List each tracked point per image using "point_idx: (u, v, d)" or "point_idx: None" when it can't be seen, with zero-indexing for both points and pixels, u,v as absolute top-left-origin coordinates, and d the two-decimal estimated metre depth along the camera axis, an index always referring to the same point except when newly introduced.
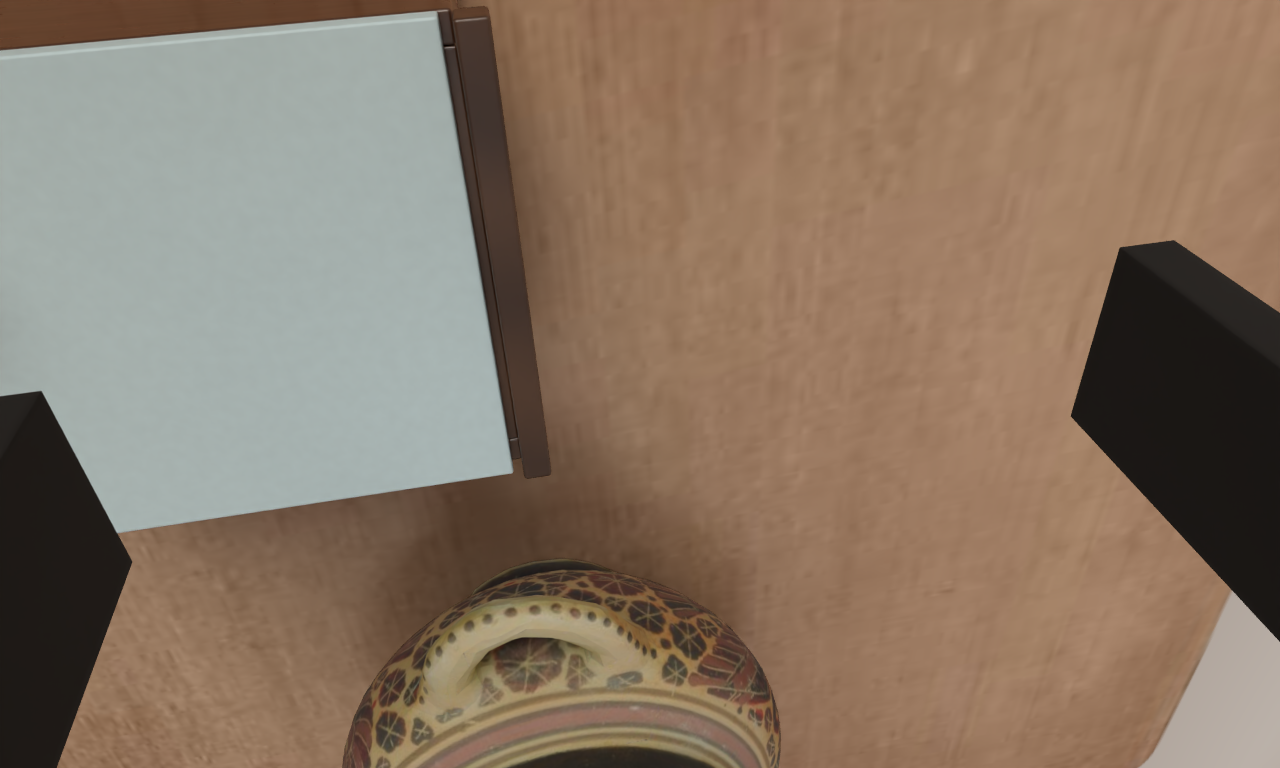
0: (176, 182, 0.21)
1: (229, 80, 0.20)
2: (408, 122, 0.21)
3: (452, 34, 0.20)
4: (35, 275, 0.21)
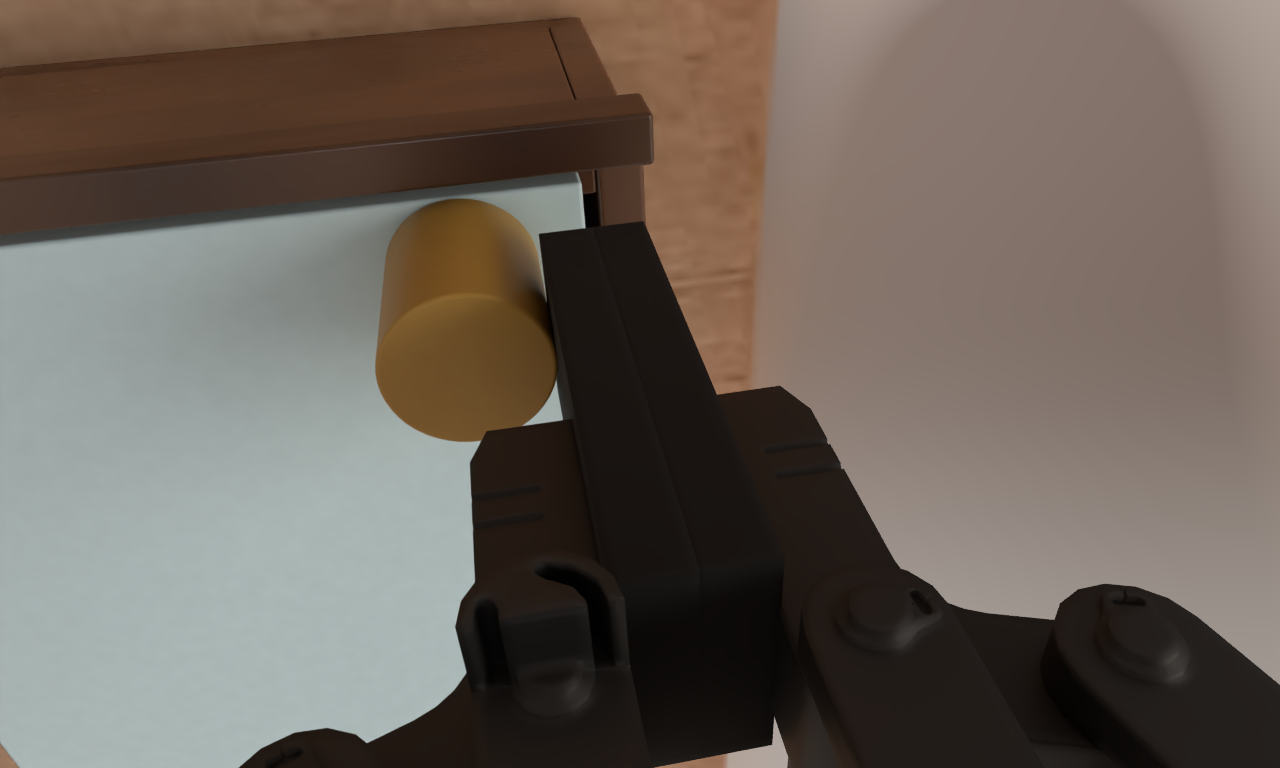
0: (465, 574, 0.18)
1: None
2: None
3: None
4: (328, 444, 0.16)
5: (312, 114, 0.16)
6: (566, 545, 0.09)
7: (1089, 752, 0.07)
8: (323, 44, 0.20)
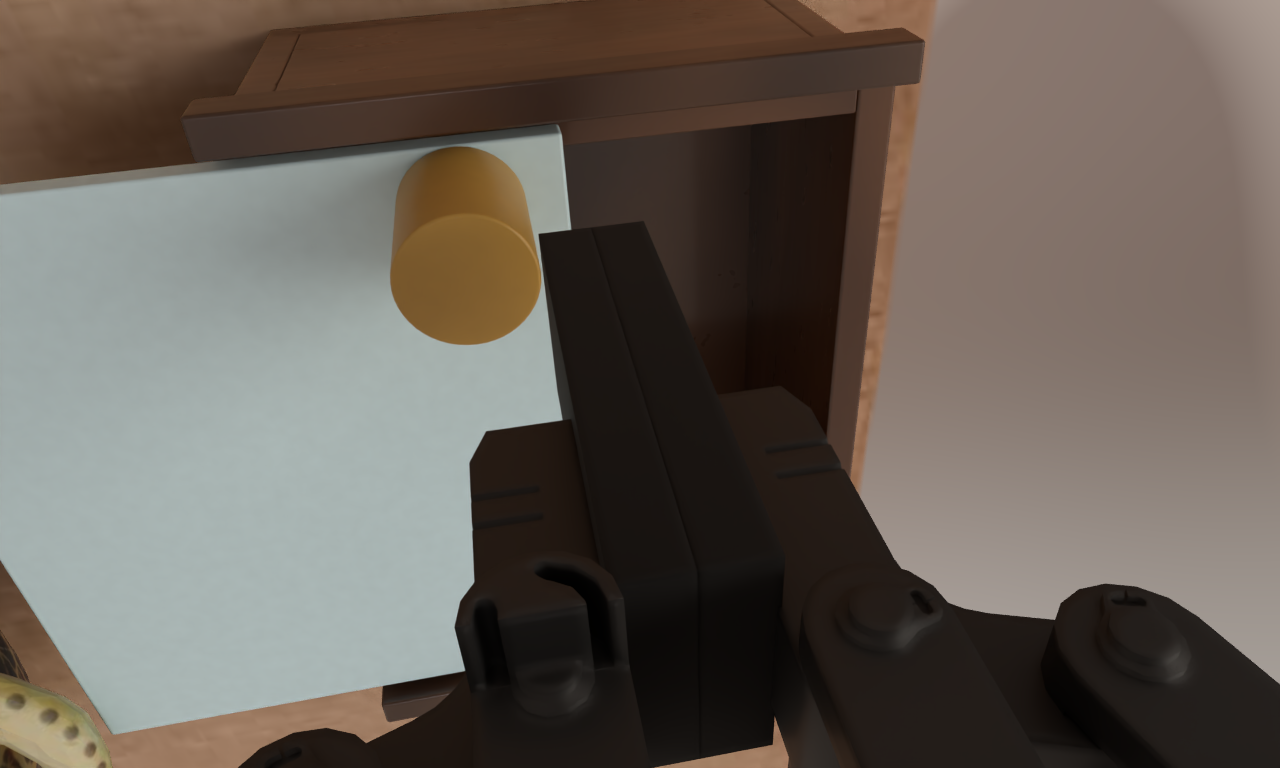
0: (465, 489, 0.21)
1: None
2: None
3: None
4: (345, 366, 0.19)
5: (601, 55, 0.20)
6: (566, 545, 0.09)
7: (1088, 751, 0.07)
8: (563, 6, 0.23)
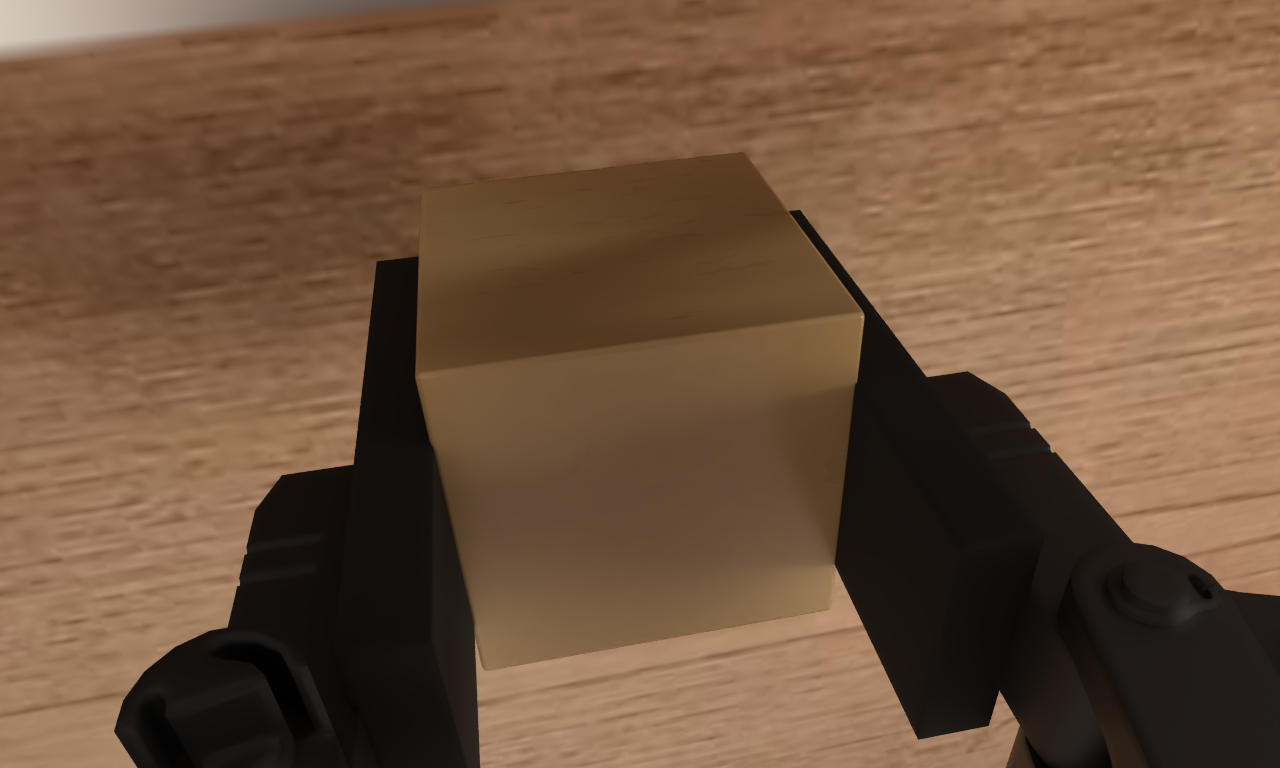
0: None
1: None
2: None
3: None
4: None
5: None
6: (329, 603, 0.08)
7: None
8: None
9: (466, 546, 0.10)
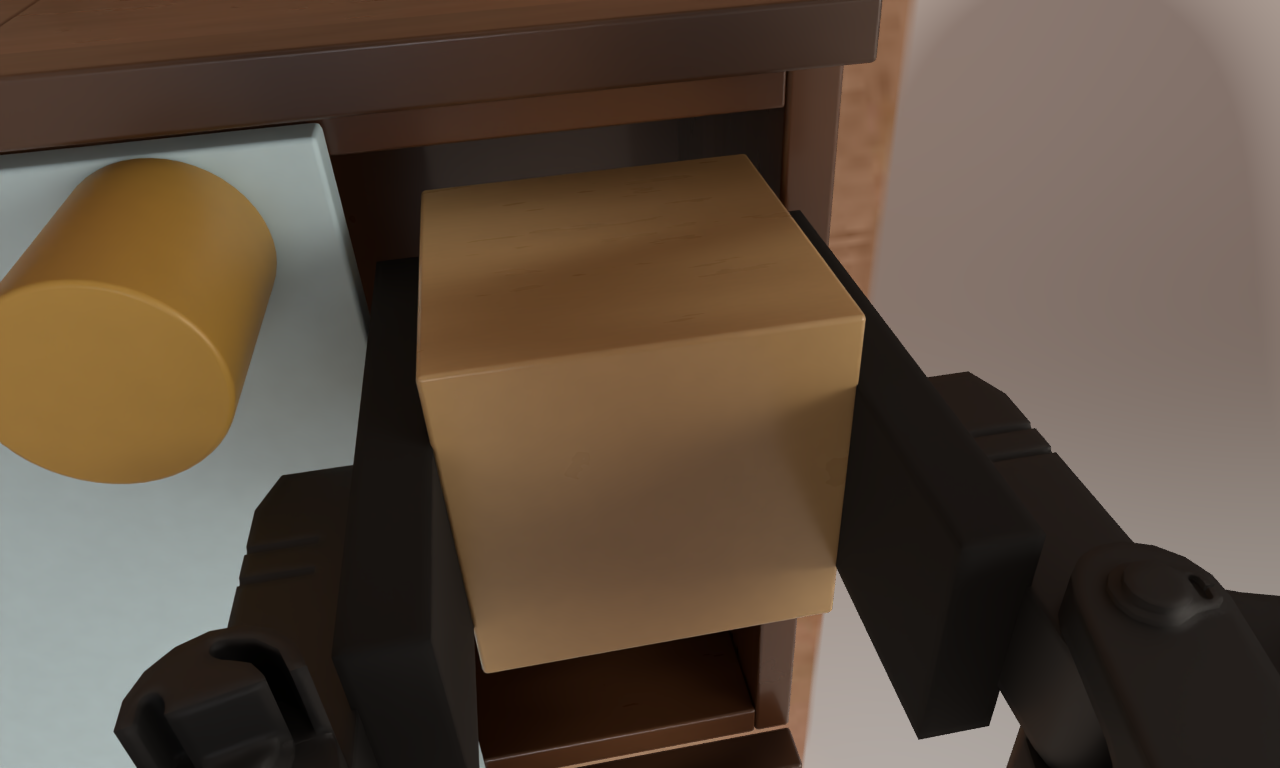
0: None
1: None
2: None
3: (765, 727, 0.21)
4: (36, 476, 0.13)
5: None
6: (330, 603, 0.08)
7: None
8: None
9: (466, 549, 0.10)
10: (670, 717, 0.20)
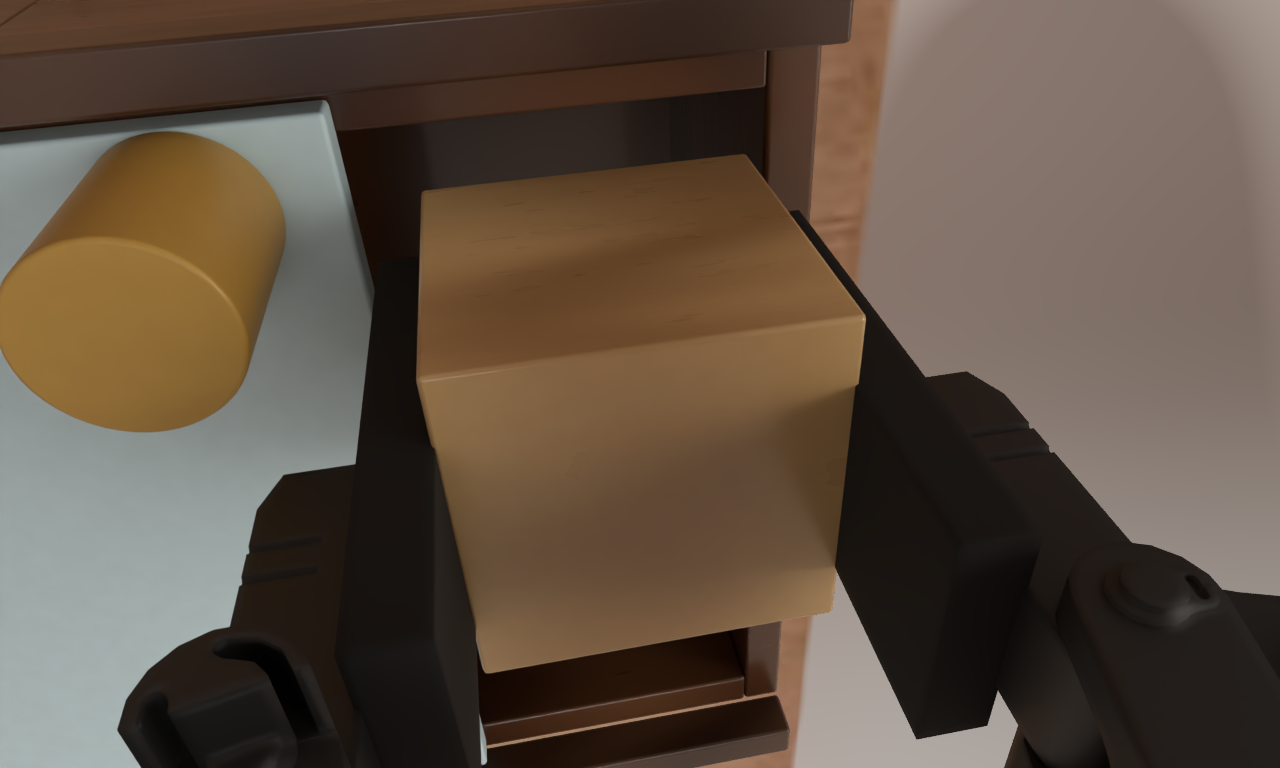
0: None
1: None
2: None
3: (754, 694, 0.21)
4: (57, 438, 0.13)
5: None
6: (332, 601, 0.08)
7: None
8: None
9: (466, 549, 0.10)
10: (662, 684, 0.21)
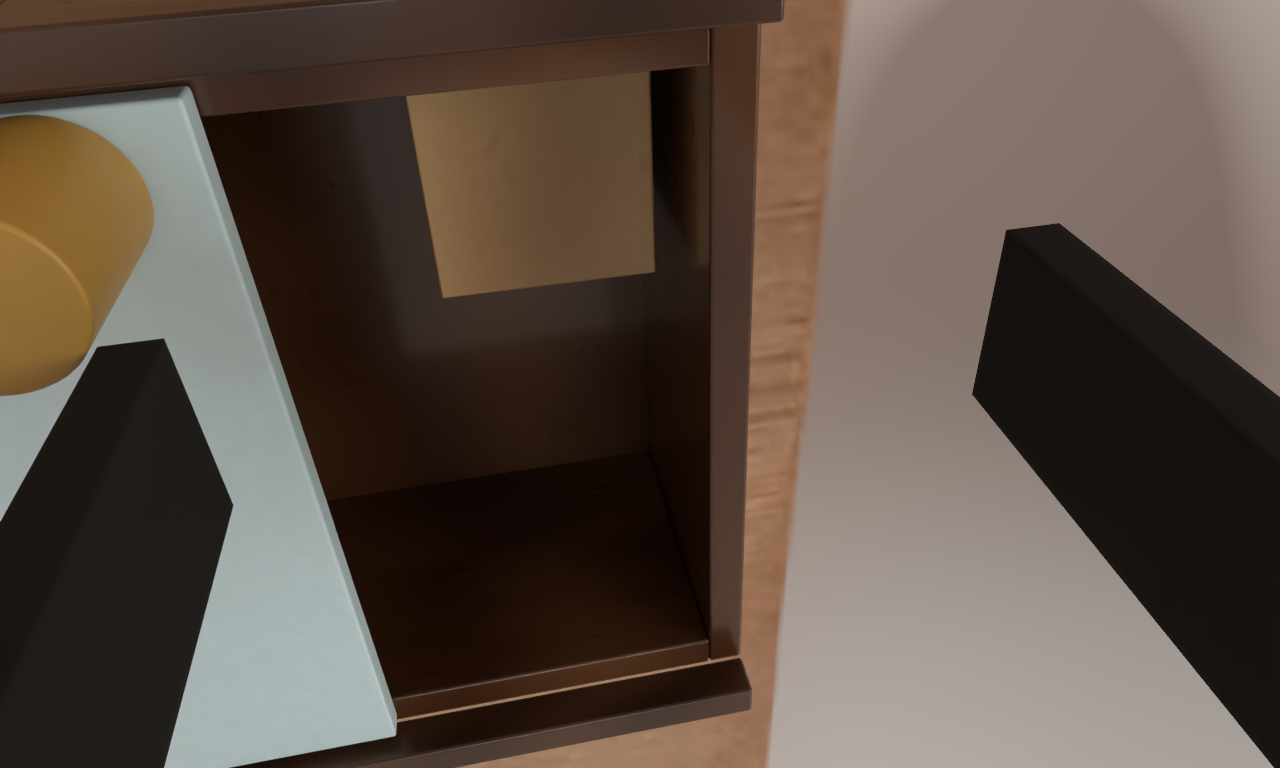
0: None
1: (303, 608, 0.18)
2: (283, 728, 0.20)
3: (718, 657, 0.22)
4: None
5: None
6: None
7: None
8: None
9: (430, 199, 0.17)
10: (629, 648, 0.22)
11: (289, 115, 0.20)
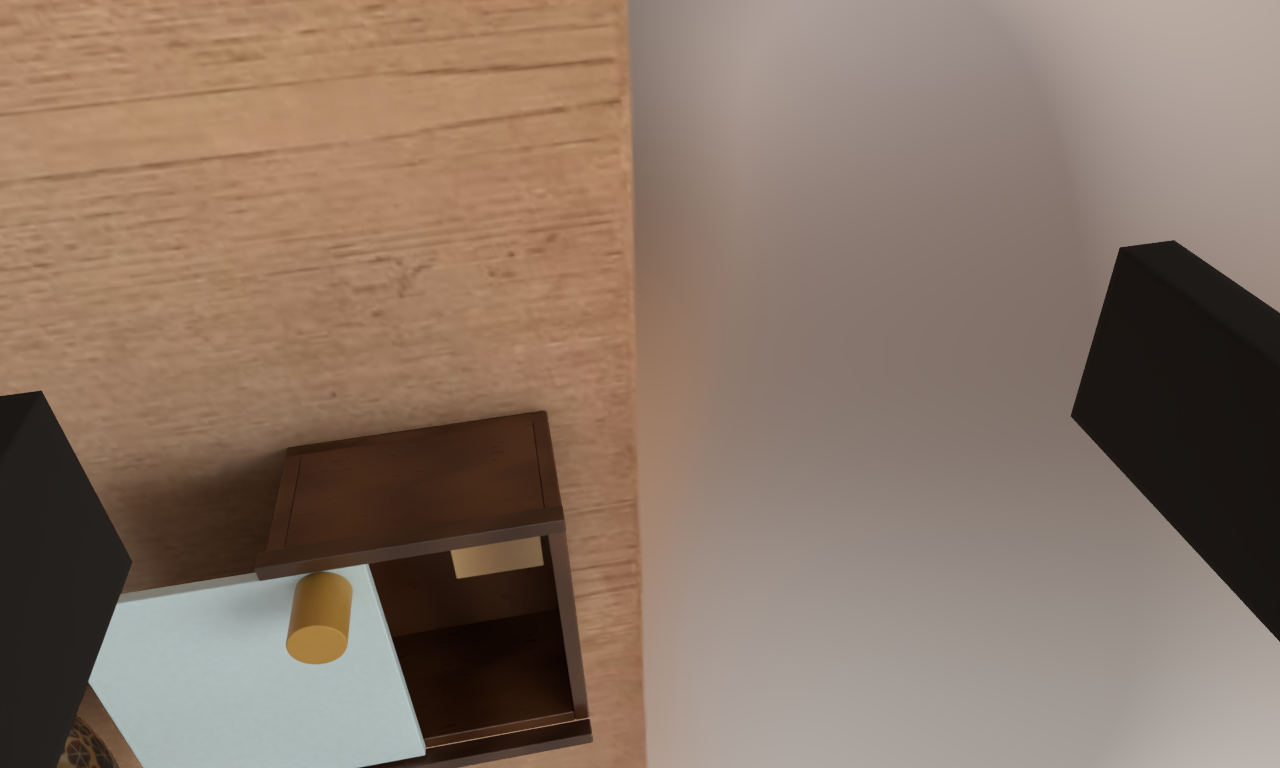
0: (338, 691, 0.44)
1: (390, 706, 0.45)
2: (378, 752, 0.47)
3: (579, 718, 0.49)
4: (276, 648, 0.41)
5: (440, 491, 0.42)
6: None
7: None
8: (434, 432, 0.46)
9: None
10: (538, 714, 0.49)
11: None
